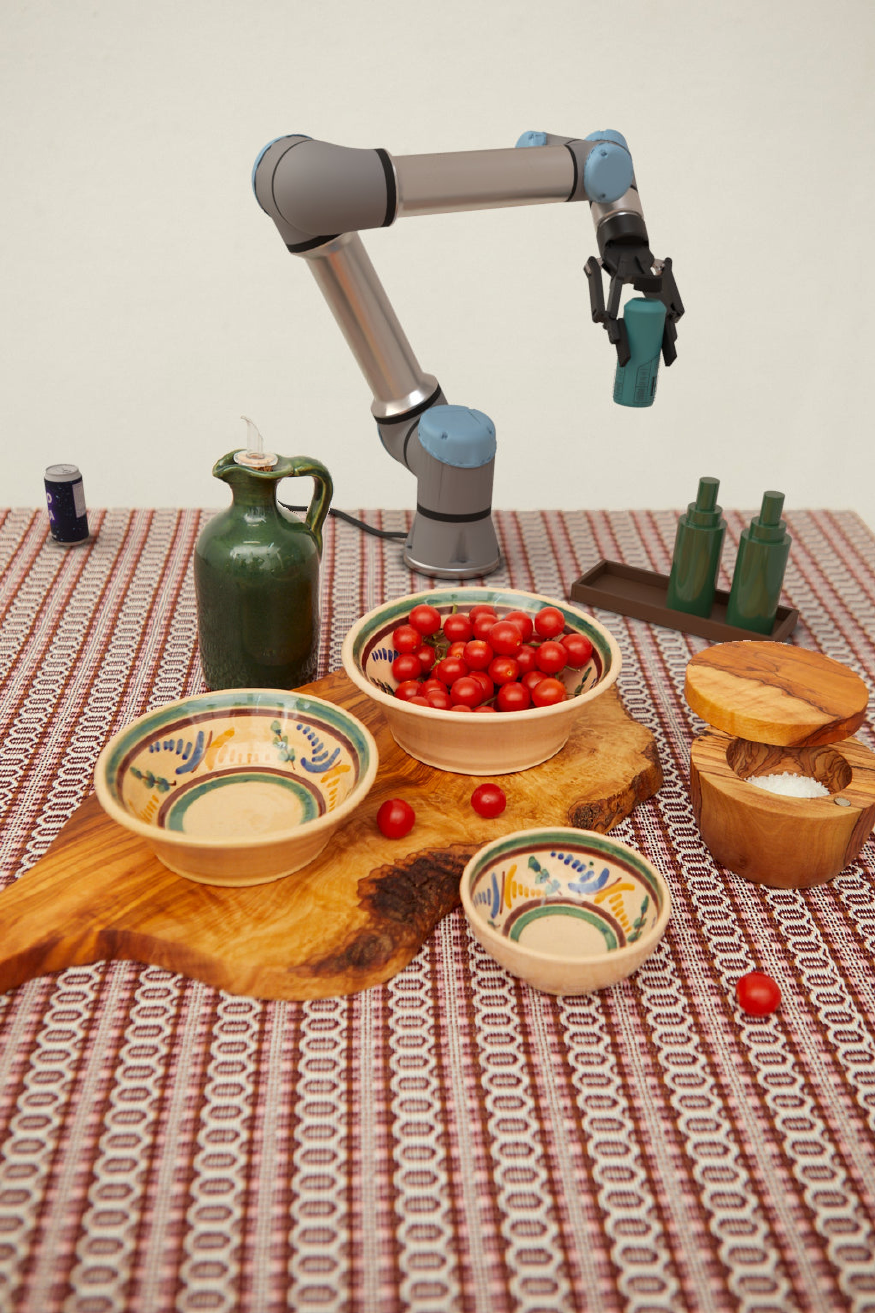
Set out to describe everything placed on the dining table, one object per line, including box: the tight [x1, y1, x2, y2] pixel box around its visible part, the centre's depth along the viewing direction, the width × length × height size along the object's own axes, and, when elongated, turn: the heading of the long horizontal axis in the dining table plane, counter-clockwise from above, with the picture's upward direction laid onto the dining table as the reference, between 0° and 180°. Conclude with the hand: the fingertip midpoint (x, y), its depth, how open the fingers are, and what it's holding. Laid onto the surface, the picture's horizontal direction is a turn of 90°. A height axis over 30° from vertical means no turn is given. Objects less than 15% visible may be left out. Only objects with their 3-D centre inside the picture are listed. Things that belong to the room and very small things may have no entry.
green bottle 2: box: [724, 490, 793, 636], centre depth 151 cm, size 7×7×20 cm
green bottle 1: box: [665, 476, 729, 619], centre depth 155 cm, size 7×7×20 cm
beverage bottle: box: [612, 274, 667, 409], centre depth 162 cm, size 6×7×20 cm
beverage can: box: [43, 463, 90, 547], centre depth 172 cm, size 6×6×12 cm
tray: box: [569, 558, 800, 644], centre depth 160 cm, size 31×12×3 cm, turn 58°
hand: (648, 361), depth 160 cm, fingers closed on beverage bottle, 6 cm apart
